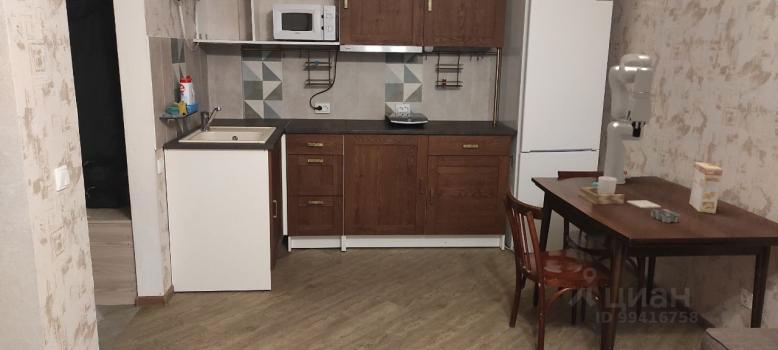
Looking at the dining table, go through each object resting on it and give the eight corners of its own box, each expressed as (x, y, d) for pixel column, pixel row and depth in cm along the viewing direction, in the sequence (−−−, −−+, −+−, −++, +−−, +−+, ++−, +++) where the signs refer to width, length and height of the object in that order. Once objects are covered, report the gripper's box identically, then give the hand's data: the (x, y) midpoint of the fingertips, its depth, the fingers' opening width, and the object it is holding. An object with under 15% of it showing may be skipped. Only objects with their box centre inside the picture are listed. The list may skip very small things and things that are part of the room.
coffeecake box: (716, 213, 257) (723, 169, 253) (698, 212, 258) (705, 168, 254) (705, 204, 271) (712, 162, 267) (688, 203, 272) (695, 161, 268)
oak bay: (604, 195, 281) (605, 187, 280) (623, 203, 267) (624, 194, 266) (578, 196, 277) (579, 187, 276) (596, 204, 264) (597, 195, 263)
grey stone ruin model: (647, 216, 249) (648, 206, 249) (663, 215, 251) (664, 206, 250) (664, 223, 239) (665, 213, 238) (680, 223, 241) (682, 213, 240)
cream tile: (646, 201, 272) (646, 200, 272) (660, 207, 263) (660, 206, 263) (626, 202, 270) (627, 200, 270) (641, 208, 260) (641, 206, 260)
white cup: (612, 198, 276) (615, 177, 274) (615, 202, 268) (618, 180, 266) (595, 196, 277) (597, 175, 275) (597, 200, 270) (599, 179, 268)
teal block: (598, 192, 287) (599, 181, 286) (606, 194, 283) (607, 184, 282) (590, 192, 285) (592, 182, 284) (599, 195, 281) (600, 185, 280)
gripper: (650, 95, 271) (644, 135, 275) (621, 94, 267) (616, 135, 271) (661, 97, 264) (655, 138, 268) (632, 96, 260) (626, 138, 264)
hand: (636, 136), depth 269 cm, fingers closed
